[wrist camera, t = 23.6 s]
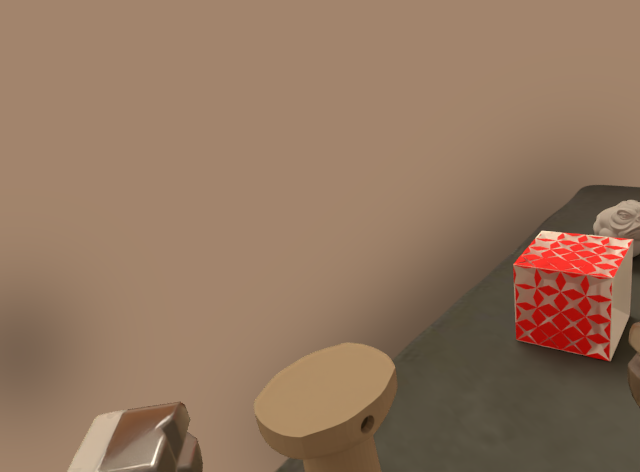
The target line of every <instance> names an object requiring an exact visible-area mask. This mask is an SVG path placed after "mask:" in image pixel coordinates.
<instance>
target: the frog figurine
mask: <svg viewBox="0 0 640 472" xmlns="http://www.w3.org/2000/svg"><path fill="white" fill-rule="evenodd" d="M593 229H594V232H595V235H596V236H604V237H614V238H625V239H633V257H635V256H637V255H639V254H640V203H639V202H637V201H634V200H628V201H623V202H621V203H619V204H618V205H616V206H614V207H611V208H608V209H606V210H604V211H602V212H601V213H600V214H599V215H598V216H597V221H596V222H595V223H594V227H593Z"/></svg>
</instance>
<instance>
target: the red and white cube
mask: <svg viewBox="0 0 640 472" xmlns="http://www.w3.org/2000/svg"><path fill="white" fill-rule="evenodd" d="M632 260H633V239H625V238H614V237H604V236H593V235H582V234H572V233H561V232H550V231H541V232H540V234H539V235H538V236H537V237H536V238H535V239H534V241H533V242H532V243H531V244H530V245H529V246H528V248H527V249H526V250H525V251H524V252H523V253H522V255H521V256H520V257H519V258H518V259H517V261H516V262H515V263H514V264H513V272H514V296H515V320H516V340H518V341H523V342H527V343H531V344H536V345H540V346H545V347H549V348H554V349H558V350H562V351H567V352H571V353H576V354H580V355H585V356H589V357H593V358H597V359H602V360H606V361H611V359H612V357H613V354H614V352H615V349H616V347H617V345H618V342H619V340H620V338H621V335H622V333H623V330H624V328H625V326H626V323H627V321H628V319H629V316H630V302H631V281H632Z"/></svg>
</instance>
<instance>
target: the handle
mask: <svg viewBox="0 0 640 472" xmlns="http://www.w3.org/2000/svg"><path fill="white" fill-rule="evenodd" d="M396 391H397V377H396V370H395V366H394V363H393V362H392V360H391V359H390V358H389V357H388V356H387V355H386V354H385V353H383V352H381V351H380V350H378V349H376V348H373V347H370V346H367V345H363V344H358V343H343V344H339V345H336V346H332V347H329V348H326V349H323V350H320V351H316V352H314V353H311V354H309V355H307V356H305V357H303V358H301V359H300V360H298V361H296V362H295V363H293V364H292V365H290V366H288V367H287V368H285V369H284V370H283V371H281V372H280V373H278V374H277V375H276V376H275V377H274V378H273V379H272V380H271V381H270V382H269V383H268V384H267V385H266V387H265V388H264V389H263V390H262V392H261V393H260V395H259V396H258V397H257V398H256V400H255V401H254V411H255V415H256V419H257V423H258V426H259V430H260V432H261V434H262V436H263V438H264V439H265V441H266V442H267V443H268V444H269V445H270V446H271V448H273V449H274V450H276V451H277V452H279V453H280V454H282V455H285V456H287V457H289V458H294V459H302V460H303V463H304V468H305V472H381V468H380V464H379V460H378V455H377V451H376V447H375V443H374V438H373V434H374V433H375V432H376V431H377V429H378V428H379V426H380V425H381V423H382V422H383V420H384V419H385V417H386V415H387V413H388V411H389V409H390V407H391V405H392V402H393V400H394V397H395V394H396Z"/></svg>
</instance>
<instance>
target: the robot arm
mask: <svg viewBox="0 0 640 472" xmlns="http://www.w3.org/2000/svg"><path fill="white" fill-rule="evenodd" d="M629 345H630V346H631V347H632V348H633V349H634V350H635V351H636V352H637V353H636V354H635V356H634V357H633V358H632V360H631V361H630V362H629V364H628V383H629V386H630V390H631V393H632V396H633V398H634V400H635V401H636V403H637V405H638V406H639V408H640V322H639V323H633V325H632V327H631V329H630V331H629ZM189 422H190V417H189V415H188V412H187V410H186V407H185V405H184V404H183V403H181V402H175V403H168V404H162V405H154V406H148V407H141V408H135V409H128V410H122V411H116V412H111V413H104V414H101V415H99V416H98V417H96V418H95V420H94V421H93V423H92V425H91V427H90V429H89V430H88V432H87V434H86V436H85V438H84V440H83V442H82V444H81V446H80V447H79V449H78V451H77V453H76V455H75V457H74V459H73V460H72V463H71V464H70V466H69V468H68V470H67V472H202V468H203V467H202V464H203V462H202V456H201V450H200V447H199V444H198V441H197V438H195V437H194V436H192V435H191V434H190V433H188V432H187V430H188V426H189Z"/></svg>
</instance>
